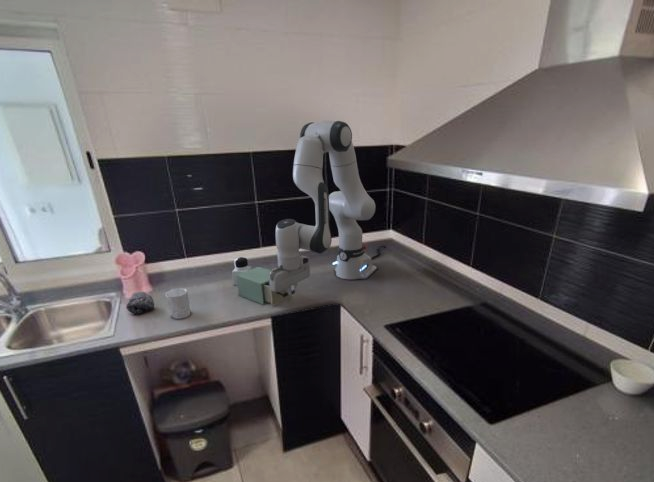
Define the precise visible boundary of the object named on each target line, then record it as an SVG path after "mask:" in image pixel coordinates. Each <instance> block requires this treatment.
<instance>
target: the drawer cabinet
mask: <svg viewBox="0 0 654 482" xmlns="http://www.w3.org/2000/svg"><path fill="white" fill-rule="evenodd" d="M271 271H272V269H271V270H270V269H268V268H265V267H261V266H256V267H253V268H252V269H251V270H248V271H246V272H243V273H240V274H238V275H236V277H237V283H238V285H237V290H238V295H239V296H240V297H243V298H245V299H248V300H250V301H253V302H255V303H258V304H261V305H266V304H268V303H269V302H267V301H264V294H263V286H262V285H263V284H266V283H268V282H270V273H271Z"/></svg>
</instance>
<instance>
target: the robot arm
mask: <svg viewBox="0 0 654 482" xmlns="http://www.w3.org/2000/svg"><path fill="white" fill-rule="evenodd" d="M294 152H295V154H294V159H293V166H292V179H293V183H294V184H295V186H296V187H297V188H298V189H299V191H301V192H303V193H304V194H306V195H308V196H309V197H310V198H311V199H312V201H313V203H314V208H315V209H314V210H315V212H314V213H315V225H309V224H304V223H299V222H297V221H296V220H295V219H292V218H286V219H282V220H280V221H278V222H277V224H276V226H275V235H274V236H275V246H276V249H277V253H276V259H277V267H273V268H272V269H271V273H270V290H272V291H274V292H279V291H281V290H283V289H286V290H287V292H288V295H290V296H291V295H292V296H293V295H294V294H296V293H297V291H295V290H297V286H298V283H300V282H302V281H304V280H306V279H308V278H310V275H311V265H310V263H309V262H310V257H309V256H306V255H303V254H301V252H300V250H305V251H310V252H312V253H316V254H324V252H326V251H328V250H329V249H330V247H331V246H332V239H333V238H332V232H331V223H330V222H331V221H330V213H331V214H332V216H333V218H334V220H335V224H336V227H337V233H338V247H337V254H338V255H337V256H336V261H334V262H332V265H336V267H335V268H334V272H335V275H336V277H338V278H340V279H342V280H350V281H351V280H352V281H353V280H366V279H368V278H369V277H370V276H371V275H372V274H373V273H374V272H375V271H376V270H377V269H378V268H377V266H376V265H375V264H373V259H375V258H377V257H379V256H380V255H381V252H380V251H379V250H380V249H381V248H384V249H386V245H380V246H379V247H378V248H379V249H378V248H377V249H376V252H377V254H376V255H374V256H372V257H371V256H370V255H368V254H367V253H366V252H365V250H367V249H368V245H366V244H363V229H362V227H361V226H360V225H359V223H358V222H357V221H369V220H371V219H372V218H373V216H374V215H375V213H376V203H375V200H374V199H373V198H372V197H371V196H370V195H369V193H367V191H366V189H365V188H364V185H363V183H362V181H361V178H360V174H359V168H358V162H357V155H356V151H355V147H354V143H353V133H352V129H351V127H350V126H349V124H348V123H347V122H345V121H342V120H336V121H335V120H322V121H315V122H314V121H312V122H308V123H306V124H304V125H303V126H302V128H301V130H300V133H299V140H298V141H297V145H296V147H295V151H294ZM325 153H328V156H329V157H328V158H329V164H330V169H331V174H332V178H333V183H334V185H335V187H337V188H338V189H339V190H338V191H337V190H336V191H333V192H331V193H330V194H329V188H328V186H327V184H325V181H324V178H323V177H324V176H323V166H324V154H325ZM383 246H384V247H383ZM380 247H381V248H380ZM290 288H291V289H290ZM292 296H291V297H292Z"/></svg>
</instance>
